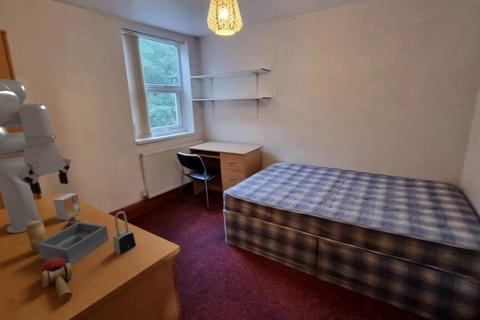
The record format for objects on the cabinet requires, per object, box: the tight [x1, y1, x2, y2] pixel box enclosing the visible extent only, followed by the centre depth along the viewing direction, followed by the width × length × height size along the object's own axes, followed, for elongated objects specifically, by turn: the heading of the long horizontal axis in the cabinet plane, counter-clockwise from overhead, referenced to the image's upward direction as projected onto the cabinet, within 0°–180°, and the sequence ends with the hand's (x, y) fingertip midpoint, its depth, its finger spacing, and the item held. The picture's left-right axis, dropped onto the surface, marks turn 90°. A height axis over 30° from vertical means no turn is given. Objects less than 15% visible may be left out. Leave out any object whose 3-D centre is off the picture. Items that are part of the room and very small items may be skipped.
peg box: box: [37, 221, 109, 266], centre depth 88 cm, size 14×16×6 cm
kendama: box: [41, 258, 73, 303], centre depth 71 cm, size 8×6×18 cm
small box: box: [53, 192, 82, 221], centre depth 114 cm, size 8×6×10 cm
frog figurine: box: [62, 216, 92, 231], centre depth 105 cm, size 12×12×4 cm
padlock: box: [112, 211, 137, 256], centre depth 87 cm, size 7×4×15 cm, turn 145°
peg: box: [25, 220, 48, 255], centre depth 88 cm, size 5×5×11 cm
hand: (51, 188), depth 85 cm, fingers open, 9 cm apart
